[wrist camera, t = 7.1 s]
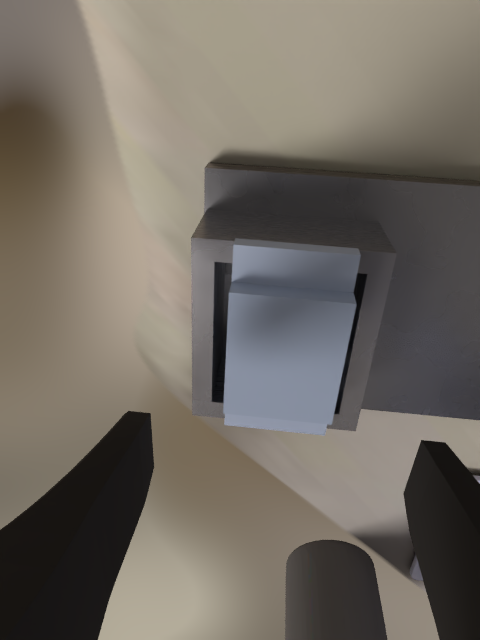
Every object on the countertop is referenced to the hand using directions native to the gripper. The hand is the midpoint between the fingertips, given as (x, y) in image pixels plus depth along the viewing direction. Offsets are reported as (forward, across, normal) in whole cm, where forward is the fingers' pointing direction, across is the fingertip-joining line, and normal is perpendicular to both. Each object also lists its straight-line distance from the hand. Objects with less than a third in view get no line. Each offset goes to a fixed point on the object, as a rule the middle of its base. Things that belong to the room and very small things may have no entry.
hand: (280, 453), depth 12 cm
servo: (+9, 0, 0) cm, 9 cm away
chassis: (+10, -4, 0) cm, 11 cm away
